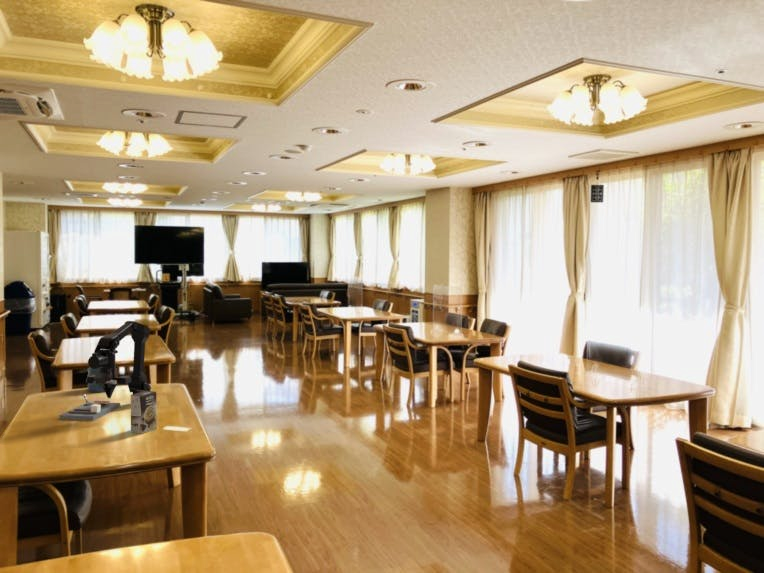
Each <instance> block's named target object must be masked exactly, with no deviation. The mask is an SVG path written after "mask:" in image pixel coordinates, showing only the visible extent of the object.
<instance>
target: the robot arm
mask: <svg viewBox="0 0 764 573" xmlns="http://www.w3.org/2000/svg"><path fill="white" fill-rule="evenodd" d="M150 333H151V329H150V327H149V325H147V324H142V323H140V322H137V321H135V320H127V321H125V322H124V324H122V325H121V326H120V327H119V328H117V329H116V330H115V331H113V332H112V333H109V334H106V335H103V336H101V337H100V338H99V340H98V342H97V344H96V346H95V349H94V352H92V353H91V356H90V357H89V358H88V360H87V364H88V366H89V368H90V367H91V368H92V369H96V368H99V367H101V368H100V372H99V373H98V374H97V375H91V376H89V377H88V376H87V377H86V379H85V383H86V384H88V383H93V382H94V381H95V383H96V384H98V385H100V386H102V387H103V389H104V390H105V392H104V393H105V395H106V397H107V399H111V397H112V396H113V393H114V392H115V389H116V388H117V385H127V386H128V390H129V393H132V395H133V394H136V393H139V392H143V391H152V390H151V389H152V387H151V385H150V384H149V382H148V377H147V375H146V373H145V353H146V342H147V341H148V339H149V338H150ZM129 334H130V336H131V340H132V341H133V343H134V344H133V345H134V346H133V362H132V364H133V366H132V373H131V374H130V375H121V376H119V377H118V374H116V373H117V371H116V369H117V368H118V365H116V354H118V353H119V351H118V350H117V348H118V347H119V346H120V342H121V341H122V340H123V339H124V338H126V337H127V336H128V335H129ZM111 379H113V380H111Z"/></svg>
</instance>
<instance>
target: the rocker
mask: <svg viewBox="0 0 764 573" xmlns="http://www.w3.org/2000/svg"><path fill="white" fill-rule="evenodd" d="M93 402H94V403H111V401H109V400H105V401H104V400H93Z"/></svg>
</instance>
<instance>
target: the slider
mask: <svg viewBox="0 0 764 573" xmlns="http://www.w3.org/2000/svg"><path fill="white" fill-rule="evenodd" d="M100 411H101V405H100V404H94V405H92V406H91V412H97V413H98V412H100Z"/></svg>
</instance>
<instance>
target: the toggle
mask: <svg viewBox="0 0 764 573" xmlns="http://www.w3.org/2000/svg"><path fill="white" fill-rule="evenodd" d="M82 397H83V400H84V401H85V403H87V402H89V400H88V397H87V394H83V395H82Z"/></svg>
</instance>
